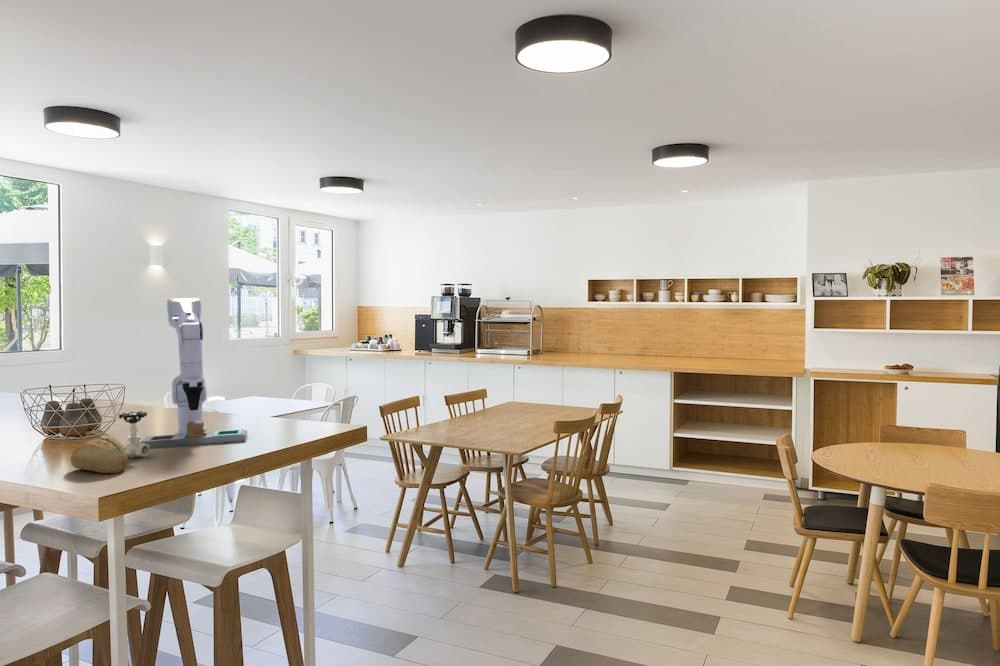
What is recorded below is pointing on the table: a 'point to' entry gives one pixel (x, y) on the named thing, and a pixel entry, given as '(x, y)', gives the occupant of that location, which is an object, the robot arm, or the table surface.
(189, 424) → the walnut block
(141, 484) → the table surface
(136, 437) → the valve
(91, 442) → the bread roll
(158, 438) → the grey slotted board
